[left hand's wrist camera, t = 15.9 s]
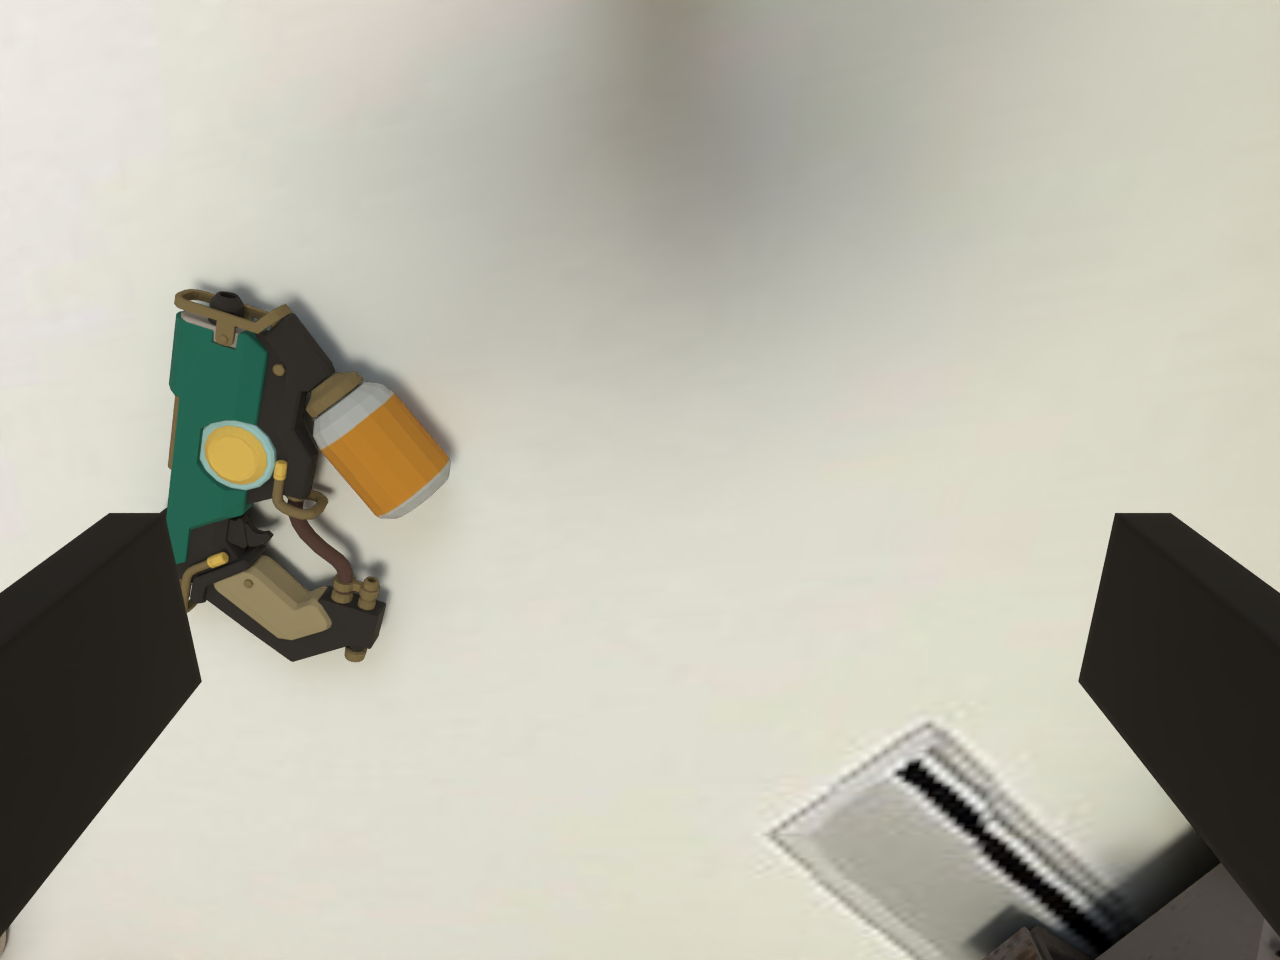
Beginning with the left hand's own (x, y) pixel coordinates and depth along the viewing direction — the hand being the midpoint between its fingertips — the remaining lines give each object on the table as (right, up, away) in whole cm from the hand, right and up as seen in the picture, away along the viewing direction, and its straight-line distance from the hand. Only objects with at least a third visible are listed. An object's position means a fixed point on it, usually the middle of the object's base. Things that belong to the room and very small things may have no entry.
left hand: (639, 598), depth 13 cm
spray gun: (-17, +2, +31) cm, 35 cm away
